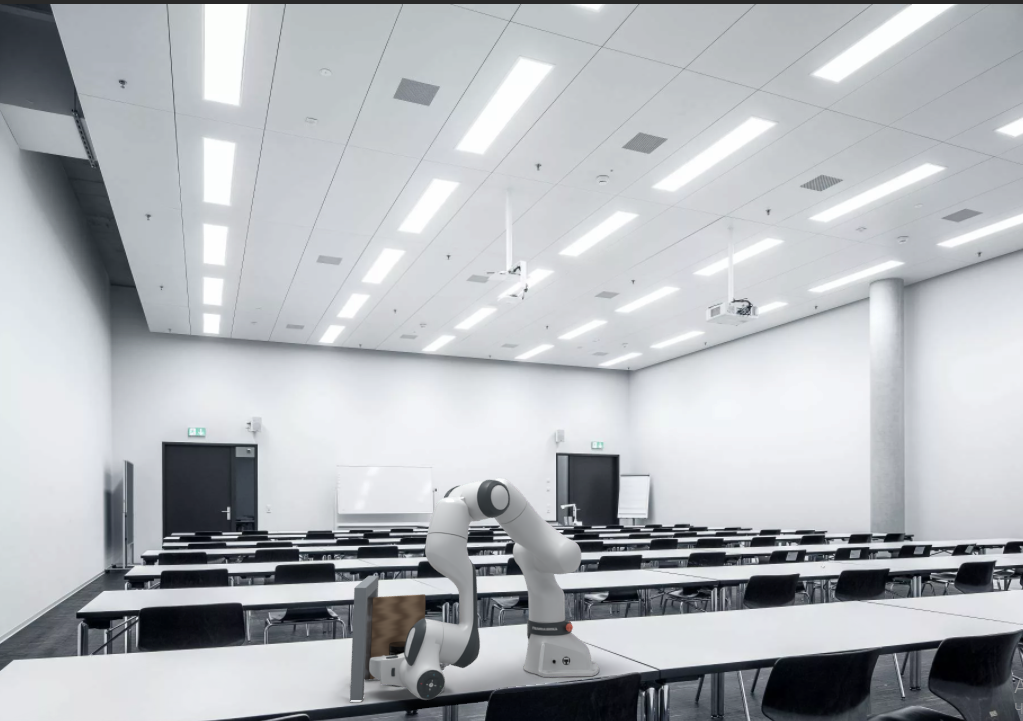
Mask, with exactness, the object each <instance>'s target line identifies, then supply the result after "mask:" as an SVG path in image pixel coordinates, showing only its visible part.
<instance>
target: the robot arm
mask: <svg viewBox="0 0 1023 721" xmlns="http://www.w3.org/2000/svg"><path fill="white" fill-rule="evenodd" d="M487 519H494V520H496V522H497V523H498V524H499V526H500V527H501V528H502V529H503V531H504V532H505V533H506V535H508V537H509V538H510V539H511V541H513V542H514V544H513V548H512V556H513V559H514V561H515V563H516V565H518V566H519V568H520V570H521V572H522V575H523V578H524V581H525V585H526V588H527V595H528V619H527V621H526V636H527V640H528V641H527V648H526V649H527V650H526V656H525V662H524V664H523V665H524V666H523V669H524V670H525V671H526V672H528V673H532V674H535V675H538V676H540V677H543V678H550V677H551V678H552V677H553V678H554V677H555V678H558V677H559V678H562V677H593V676H595V675H597V674H598V673H599V671H600V670H599V665H598V663H597V662H595V661H594V660H593V661H592V655H591V652H590V649H589V647H588V646H587V644H586V643H585V642H583V641H582V640H581V639H580V638H578V636H576V635H575V634H573V633H572V632H573V631H572V630H574V629H573V628H574V626H573V624H572V622H571V620H568V619H566V609H565V608H566V604H565V603H566V602H565V601H566V600H565V598H566V596H565V593H564V590H563V588H561V586H560V585H559V584H558V582H557V580H556V576H555V575H567V574H571V573H574V572H576V571H577V570H578V568H580V565H581V562H582V550H581V548H580V546H579V544H578V543H577V542H576V541H574V540H573V539H570V538H568V537H567V536H565V535H563V534H562V533H561V532H559V530H557V529H556V528H555V527H554V526H552V524H550V523H549V522H548V521H546V520H545V519H544V518H543V517H542V516H541V515H540V514H539V513H538V512H537V511H536V509H535V508H534V507H533V506H532V505H531V503H530V502H529V500H527V498H526V497H525V494H523V493H522V492H521V491H520V490H519V489H518V488H517V487H516V486H515V485H514V484H513V483H512V482H511V481H509V480H508V479H506V478H503V477H498V478H497V477H496V478H494V479H485V480H475V481H470V482H468V483H465V484H462V485H456V486H453V487H451V488H450V489H449V490H448V491H447V492H446V493H445V494H444V496H443V497H442V498H440V499H439V500H438V501H437V503H436V504H435V506H434V509H433V511H432V515H431V517H430V521H429V525H428V529H427V533H426V534H427V535H426V540H425V548H424V550H425V551H424V552H425V557H426V560H427V561H428V563H429V564H430V566H431V567H432V568H433V570H436V571H437V572H438V573H440V574H441V575H442V576H444V577H446V578H447V579H448V580H450V581H451V582H452V583H453V584H454V586H455V587H456V589H457V590H458V598H459V602H458V604H459V607H458V609H459V612H458V613H459V616H458V617H459V618H458V620H459V623H457V624H456V623H451V622H444V621H440V620H437V619H436V620H435V619H429V618H425V619H424V618H423V619H421V620H419V621H418V622H417V623H416V624H414V625H413V627H412V628H411V629H410V630H409V632H408V635H407V638H406V642H405V648H404V653H402V654H399V655H392V656H388V655H383V656H381V657H372V658H370V663H369V671H370V673H371V674H372V676H373V677H375V678H376V679H375V680H379V682H380V684H381V685H382V686H392V685H394V686H393V687H402V688H406V689H408V691H409V692H410V693H411V694H412V695H413V696H415V697H416V698H418V699H420V700H424V701H427V700H428V701H429V700H432V699H435V698H436V697H438V696H439V695H440V694H441V693H442V692H443V690H444V689H445V685H446V677H445V674H444V672H443V671H444V670H445V669H446V667H447V666H449V667H450V666H454V667H457V668H461V669H465V668H467V667H468V666H470V665H472V663H474V662H475V661H476V660H477V659H478V656H479V654H480V648H481V641H480V639H481V638H480V631H479V625H478V624H479V622H478V621H479V620H478V618H479V617H478V616H479V614H478V585H477V584H478V582H477V581H478V580H477V571H476V566H475V564H474V563H473V562H472V561H471V560H470V557H469V554H468V552H469V551H468V548H467V547H468V538H469V528H470V524H471V522H479V521H482V520H483V521H484V520H487Z"/></svg>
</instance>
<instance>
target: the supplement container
mask: <svg viewBox="0 0 1023 721" xmlns="http://www.w3.org/2000/svg"><path fill="white" fill-rule="evenodd" d="M405 642H406V641H398V642H392V643H390V644H389V656H392V655H399V654H402V653H404V648H405ZM393 687H395V686H394V685H393Z"/></svg>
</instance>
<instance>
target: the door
mask: <svg viewBox="0 0 1023 721" xmlns="http://www.w3.org/2000/svg"><path fill="white" fill-rule="evenodd" d="M423 618H424V619H426V594H404V595H386V596H378V597H368V605H367V632H366V659H365V680H366V681H367V680H368V681H370V680H369V679H372V680H377V679H376V678H375V677H373V676H372V674H371V673H370V671H369V663H370V658H372V657H381V656H383V655H388V656H389V644H390V643H392V642H398V641H406V638H407V635H408V632H409V630H410V629H411V628H412V627H413V625H414V624H416V623H417V622H418V621H419V620H421V619H423ZM365 680H364V681H365Z"/></svg>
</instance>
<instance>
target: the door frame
mask: <svg viewBox="0 0 1023 721" xmlns="http://www.w3.org/2000/svg"><path fill="white" fill-rule="evenodd" d="M379 578H380V576H379V575H368V576H367V577H366V578H364V579H363V580H362V581H360V583H358V584H357V585H356V586H355V587H354V592H353V615H352V616H353V620H352V639H351V640H352V642H351V643H352V644H351V664H350V665H351V666H350V686H349V687H350V688H349V689H350V691H349V702H350V701H351V700H362V699H363V697H365V696H364V695H365V680H364V679H365V659H366V632H367V605H368V597H379ZM363 700H364V699H363Z"/></svg>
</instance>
